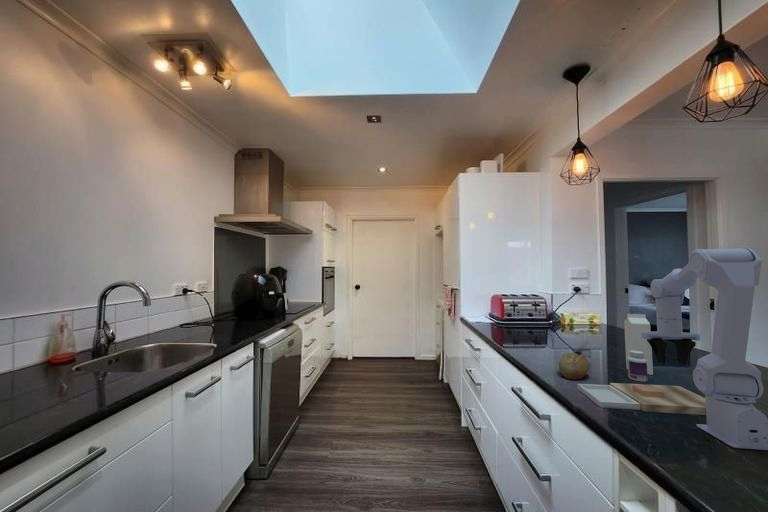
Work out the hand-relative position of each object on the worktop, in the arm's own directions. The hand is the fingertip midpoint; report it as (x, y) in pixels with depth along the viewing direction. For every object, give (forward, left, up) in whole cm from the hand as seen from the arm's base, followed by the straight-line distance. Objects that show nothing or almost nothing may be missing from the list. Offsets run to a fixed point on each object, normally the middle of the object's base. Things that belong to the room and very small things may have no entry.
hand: (671, 363), depth 91 cm
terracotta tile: (-3, +9, -8) cm, 13 cm away
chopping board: (-3, +5, -10) cm, 12 cm away
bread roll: (+18, +20, -11) cm, 29 cm away
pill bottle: (+16, 0, -11) cm, 19 cm away
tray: (-3, +20, -10) cm, 23 cm away
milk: (+25, -6, -11) cm, 28 cm away
